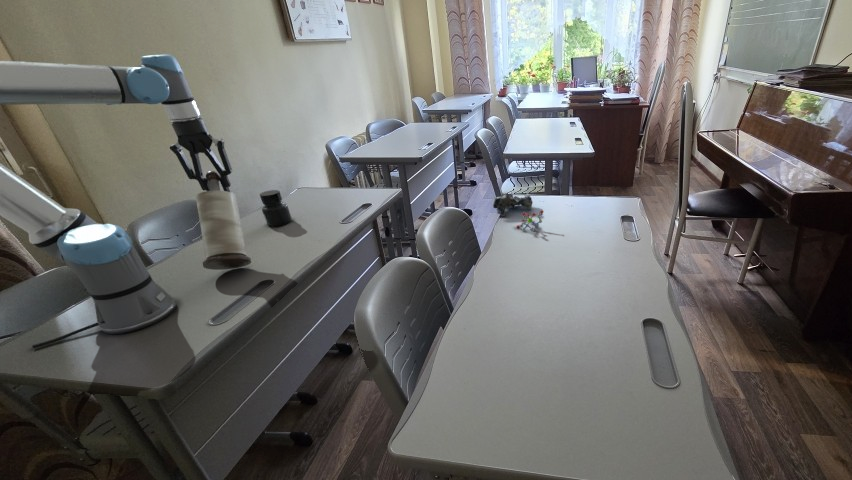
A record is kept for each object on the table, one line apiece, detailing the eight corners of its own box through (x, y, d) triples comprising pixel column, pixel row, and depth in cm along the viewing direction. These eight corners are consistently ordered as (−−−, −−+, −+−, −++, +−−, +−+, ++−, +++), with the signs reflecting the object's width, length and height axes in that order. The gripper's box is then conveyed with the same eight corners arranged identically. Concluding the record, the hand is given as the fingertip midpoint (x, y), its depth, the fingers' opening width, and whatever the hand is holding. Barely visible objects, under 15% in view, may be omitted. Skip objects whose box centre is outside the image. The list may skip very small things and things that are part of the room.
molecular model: (545, 230, 137) (545, 209, 134) (525, 235, 134) (525, 214, 131) (534, 223, 143) (534, 203, 139) (515, 228, 140) (514, 208, 136)
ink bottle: (278, 217, 161) (268, 188, 154) (297, 218, 159) (288, 189, 153) (261, 227, 152) (250, 196, 146) (281, 227, 151) (270, 197, 145)
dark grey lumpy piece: (538, 206, 148) (503, 187, 143) (523, 229, 153) (489, 212, 148) (534, 195, 158) (501, 176, 153) (519, 217, 163) (487, 200, 158)
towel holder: (214, 271, 121) (194, 264, 110) (199, 181, 125) (179, 165, 113) (257, 264, 124) (242, 256, 113) (241, 176, 128) (225, 160, 116)
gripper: (222, 113, 116) (253, 190, 129) (155, 119, 111) (194, 198, 124) (216, 117, 110) (249, 198, 123) (145, 124, 105) (187, 207, 118)
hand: (221, 198), depth 123 cm, fingers closed on towel holder, 4 cm apart
